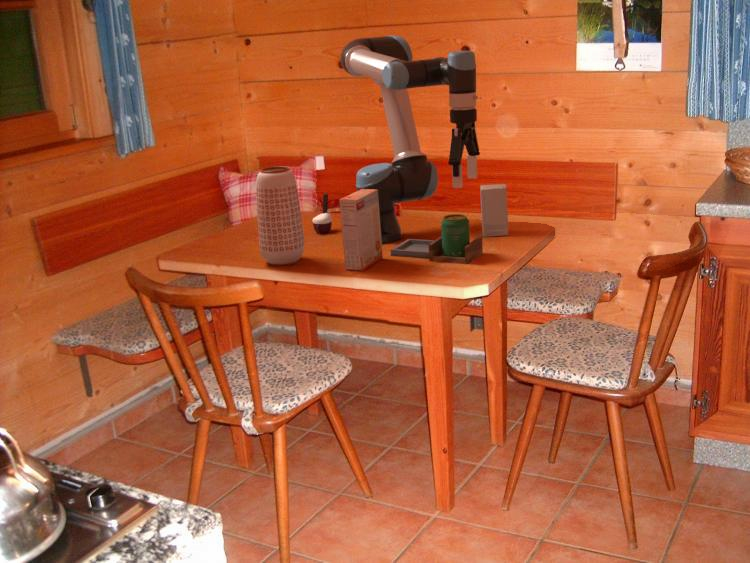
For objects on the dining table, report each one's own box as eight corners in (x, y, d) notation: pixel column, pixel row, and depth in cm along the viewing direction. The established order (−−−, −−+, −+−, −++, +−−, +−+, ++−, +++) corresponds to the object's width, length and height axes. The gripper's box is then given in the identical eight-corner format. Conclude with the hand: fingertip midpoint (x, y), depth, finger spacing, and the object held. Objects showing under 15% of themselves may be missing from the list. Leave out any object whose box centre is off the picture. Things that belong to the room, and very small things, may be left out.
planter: (274, 254, 266) (265, 164, 258) (313, 256, 261) (305, 164, 252) (253, 266, 254) (243, 172, 246) (293, 269, 249) (284, 173, 241)
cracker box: (365, 256, 257) (360, 188, 251) (383, 258, 255) (379, 188, 248) (343, 270, 245) (338, 198, 239) (362, 271, 243) (357, 199, 237)
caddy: (429, 261, 249) (428, 244, 247) (444, 250, 259) (444, 234, 257) (468, 264, 243) (467, 247, 242) (482, 252, 254) (482, 236, 252)
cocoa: (321, 237, 285) (317, 202, 281) (307, 234, 289) (304, 199, 285) (340, 229, 292) (337, 195, 287) (327, 226, 296) (324, 193, 291)
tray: (390, 255, 257) (390, 249, 256) (408, 244, 268) (408, 238, 267) (431, 258, 251) (430, 252, 251) (447, 247, 262) (447, 241, 262)
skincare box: (507, 231, 276) (506, 183, 271) (508, 236, 270) (507, 187, 265) (481, 232, 277) (480, 184, 272) (481, 237, 271) (480, 188, 266)
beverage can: (471, 253, 254) (470, 213, 250) (468, 260, 247) (467, 220, 243) (444, 253, 256) (442, 214, 252) (440, 260, 248) (439, 220, 245)
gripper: (461, 113, 228) (464, 192, 235) (488, 102, 250) (490, 174, 256) (435, 114, 231) (438, 191, 238) (464, 102, 253) (466, 174, 259)
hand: (465, 182), depth 247 cm, fingers open, 13 cm apart
